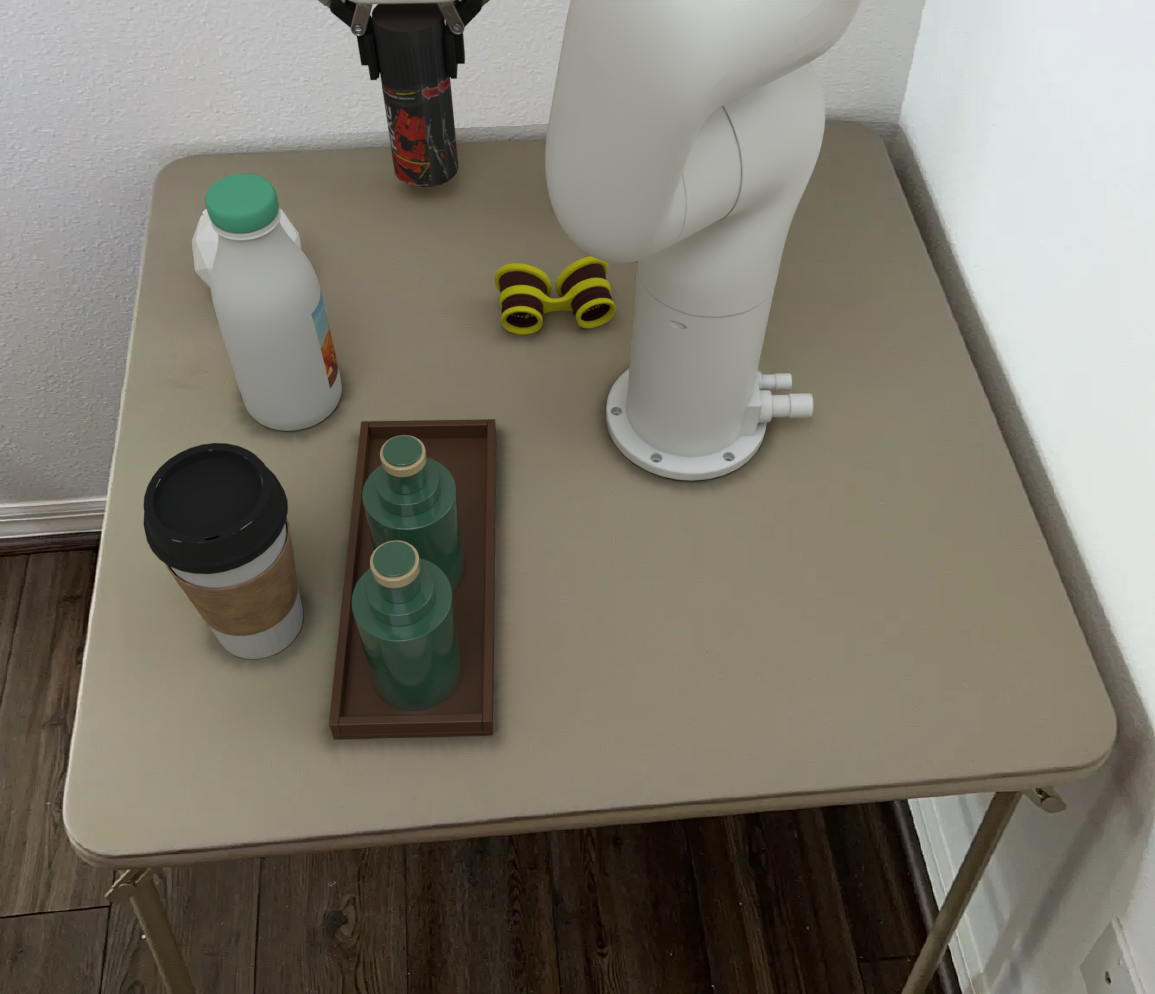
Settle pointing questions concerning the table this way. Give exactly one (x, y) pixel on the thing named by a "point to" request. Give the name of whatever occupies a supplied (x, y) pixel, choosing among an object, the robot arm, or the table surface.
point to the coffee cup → (228, 545)
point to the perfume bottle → (208, 243)
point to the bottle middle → (415, 505)
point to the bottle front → (407, 628)
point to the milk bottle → (270, 309)
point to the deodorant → (416, 92)
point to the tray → (471, 703)
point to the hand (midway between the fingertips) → (414, 69)
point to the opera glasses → (575, 285)
